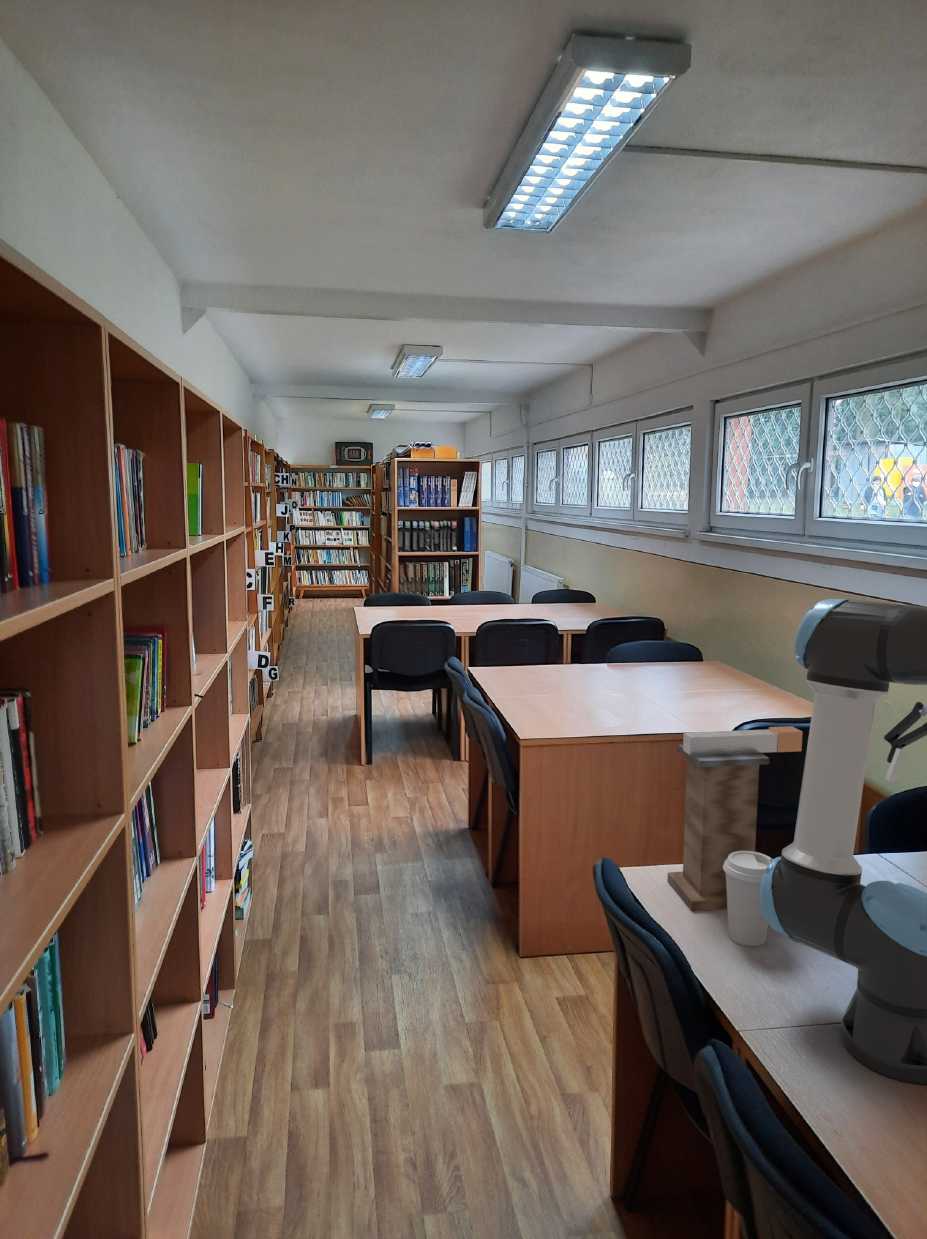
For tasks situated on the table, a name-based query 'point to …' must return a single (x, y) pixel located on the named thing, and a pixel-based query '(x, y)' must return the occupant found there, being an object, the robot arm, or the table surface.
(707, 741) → the wood grain block
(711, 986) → the table surface
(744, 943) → the coffee cup
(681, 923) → the table surface
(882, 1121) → the table surface
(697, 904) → the post
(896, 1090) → the table surface
